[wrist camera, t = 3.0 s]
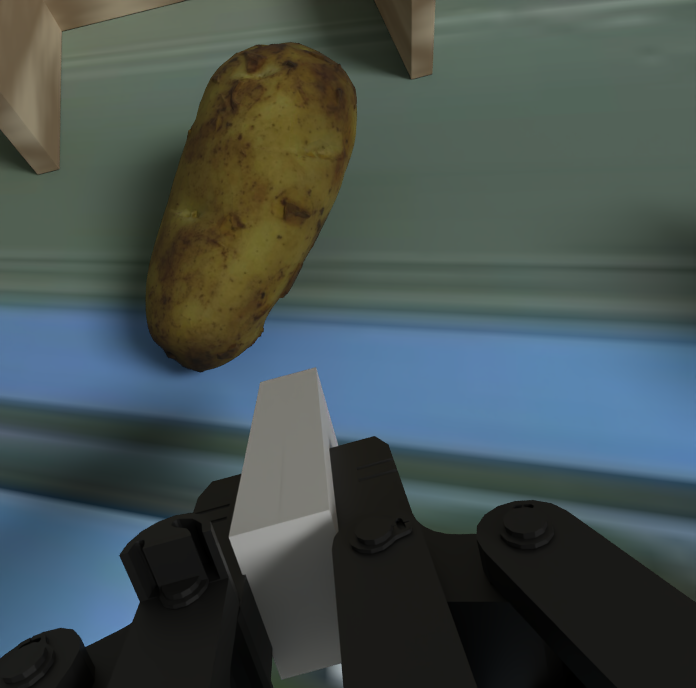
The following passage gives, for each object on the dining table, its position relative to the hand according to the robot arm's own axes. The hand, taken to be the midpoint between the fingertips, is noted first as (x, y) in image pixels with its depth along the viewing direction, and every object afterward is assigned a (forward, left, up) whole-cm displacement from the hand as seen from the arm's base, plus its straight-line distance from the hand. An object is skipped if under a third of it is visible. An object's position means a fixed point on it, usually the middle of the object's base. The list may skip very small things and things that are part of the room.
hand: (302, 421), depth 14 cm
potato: (-1, +11, -7) cm, 13 cm away
